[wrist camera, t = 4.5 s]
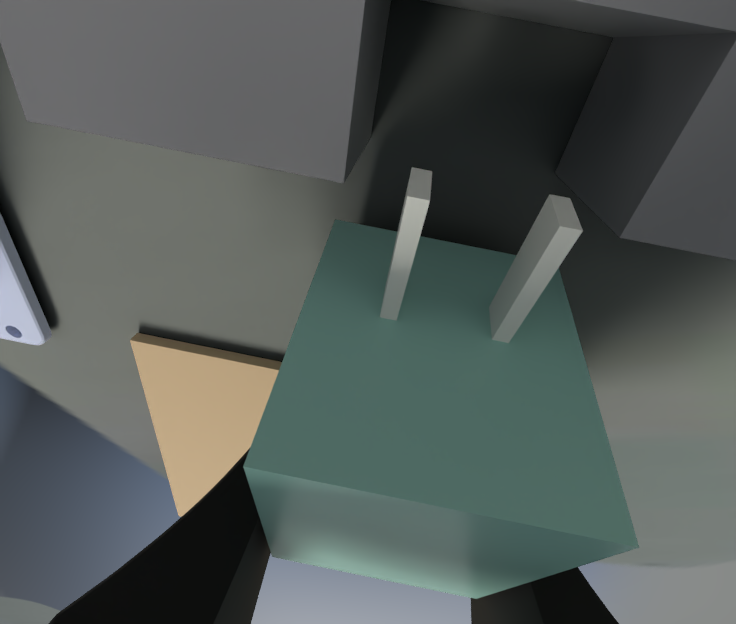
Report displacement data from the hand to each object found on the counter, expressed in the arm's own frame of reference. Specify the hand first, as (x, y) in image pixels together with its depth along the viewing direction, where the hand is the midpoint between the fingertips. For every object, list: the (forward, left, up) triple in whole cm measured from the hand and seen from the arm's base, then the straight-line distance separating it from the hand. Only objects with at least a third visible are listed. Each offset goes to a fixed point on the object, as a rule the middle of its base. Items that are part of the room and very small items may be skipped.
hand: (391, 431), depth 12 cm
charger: (0, +5, -1) cm, 5 cm away
